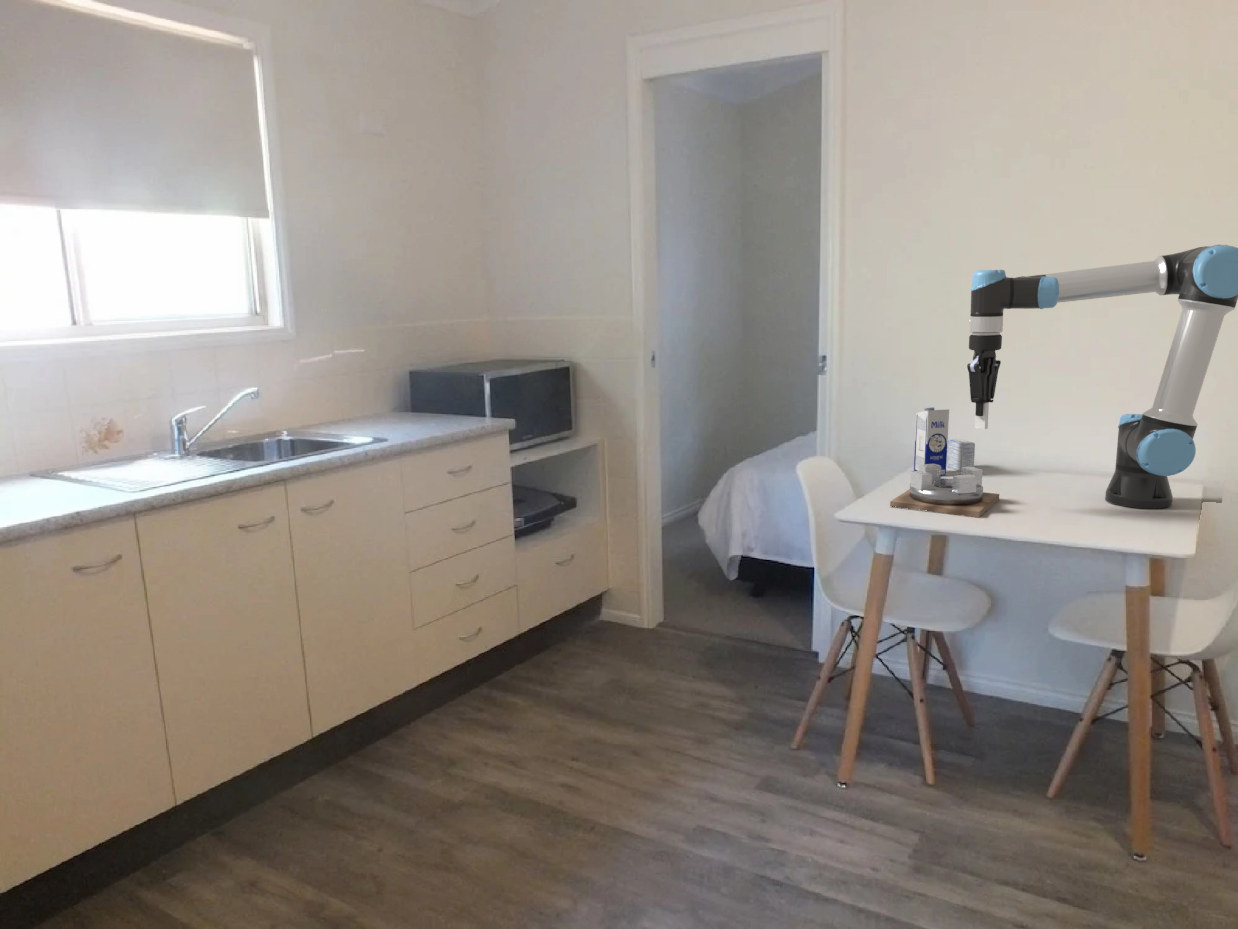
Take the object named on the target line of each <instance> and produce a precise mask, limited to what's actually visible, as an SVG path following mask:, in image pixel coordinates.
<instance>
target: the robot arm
mask: <svg viewBox="0 0 1238 929" xmlns="http://www.w3.org/2000/svg"><path fill="white" fill-rule="evenodd" d="M1148 293H1156V295H1157V294H1158V295H1159V296H1166V295H1178V298H1177V302H1178V304H1179V305H1180V306H1181V309H1182V310H1181V312H1180V316H1179V320H1178V323H1177V326H1176V328H1175V331H1174V335H1173V339H1172V342H1171V345H1170V349H1169V351H1168V356H1167V357H1166V362H1165V365H1164V367H1163V372H1162V375H1161V377H1160V382H1159V383H1158V384H1159V385H1158V387H1157V391H1156V394H1155V398H1154V400H1153V404H1152V407H1151V408H1150V409H1148V410H1145V411H1144V412H1143V413H1141V414H1140V413H1124V414H1122V415H1121V416H1120V418H1119V423H1118V426H1117V428H1118V432H1117V434H1118V435H1117V447H1116V459H1115V468H1114V472H1113V474H1112V477H1111V478H1110V479H1111V480H1110V481H1109V483H1108V486H1107V488H1106V490H1105V497H1104V500H1105V501H1106V502H1108V503H1110V504H1113V505H1117V506H1122V507H1127V508H1135V509H1150V510H1151V509H1165V508H1170V507H1172V506H1173V493H1172V489H1171V486H1170V482H1169V481H1170V480H1169V479H1168V477H1169V476H1170V477H1171V476H1175V475H1178V474H1180V473H1182V472H1184V471H1185V470H1187V469H1188V468H1189V467H1190V466H1191V464H1192V463H1193V461H1194V459H1195V457H1196V451H1197V450H1196V444H1195V442H1194V437H1195V435H1196V431H1197V428H1198V422H1197V421H1196V420H1195V418H1194V416H1193V415H1194V412H1195V410H1196V406H1197V403H1198V400H1199V397H1200V394H1201V391H1202V388H1203V384H1204V382H1205V379H1206V378H1205V377H1206V375H1207V372H1208V369H1209V365H1210V361H1211V360H1212V356H1213V352H1214V349H1215V346H1216V343H1217V340H1218V337H1219V334H1220V330H1221V328H1222V325H1223V321H1224V318H1225V316H1226V315H1227V314H1228V313H1230V312H1232V311H1234V310H1235V309H1236V305H1237V302H1238V247H1236V246H1234V245H1233V246H1232V245H1227V244H1214V245H1211V246H1210V245H1209V246H1200V247H1199V246H1198V247H1196V248H1192V249H1188V250H1184V251H1180V252H1177V253H1171V254H1165V255H1159V256H1157V257H1156V258H1155V259H1154V260H1151V261H1150V260H1149V261H1143V262H1134V263H1127V264H1125V263H1124V264H1118V265H1110V266H1102V267H1093V268H1092V267H1091V268H1086V269H1084V268H1083V269H1077V270H1070V271H1069V270H1068V271H1062V272H1053V273H1044V274H1037V275H1036V274H1035V275H1028V276H1023V275H1022V276H1016V277H1007V276H1006V270H1004V269H985V270H984V269H977V270H976V271H975V272H973V274H972V282H971V288H970V319H969V320H968V322H969V332H970V333H971V334H970V335H969V337H968V339H969V340H968V349H969V350H970V351H973V352H974V353H973V357H972V362H971V363H967V367H966V368H967V371H968V379H969V380H968V382H969V394H970V401H971V403H974V404H975V408H974V411H975V412H974V426H973V427H974V429H978V430H987V429H989V428H988V426H989V407H990V405H989V404H990V403H993V402H994V399H995V398H994V397H995V394H996V386H997V381H998V374H999V369H1000V366H1001V362H1002V361H1001V360H1000V359H999V360H997V354H996V351H999V350H1001V349H1002V343H1003V335H1002V334H1000V333H1002V332H1003V326H1004V311H1005V310H1011V309H1014V310H1015V309H1017V310H1018V309H1020V310H1021V309H1022V310H1025V309H1026V310H1027V309H1029V310H1030V309H1032V310H1033V309H1040V310H1043V309H1052V308H1053V309H1054V308H1055V307H1056V306H1057V305H1058V304H1059V303H1066V302H1067V303H1068V302H1076V301H1087V300H1094V299H1101V298H1103V299H1104V298H1113V297H1120V296H1131V295H1137V294H1138V295H1141V294H1148Z"/></svg>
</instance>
